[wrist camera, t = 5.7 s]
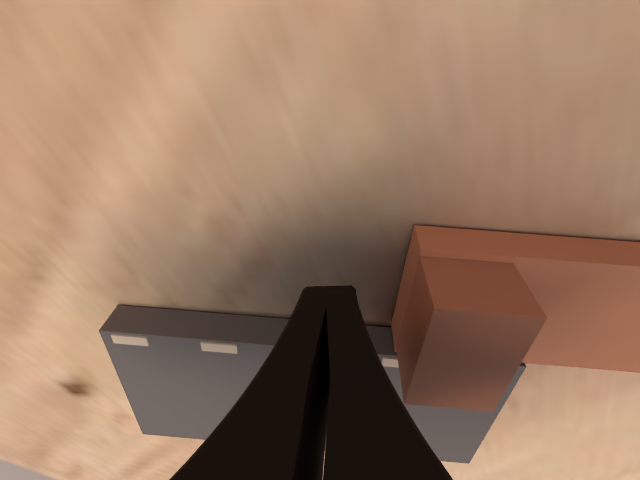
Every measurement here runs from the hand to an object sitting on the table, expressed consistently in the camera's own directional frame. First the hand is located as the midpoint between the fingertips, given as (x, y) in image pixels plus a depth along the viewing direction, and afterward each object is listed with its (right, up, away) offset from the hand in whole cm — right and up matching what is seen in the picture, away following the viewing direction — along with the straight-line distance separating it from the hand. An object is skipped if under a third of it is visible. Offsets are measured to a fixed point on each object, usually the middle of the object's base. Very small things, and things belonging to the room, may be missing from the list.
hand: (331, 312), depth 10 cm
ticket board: (-1, -3, +5) cm, 6 cm away
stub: (+7, +1, +1) cm, 7 cm away
